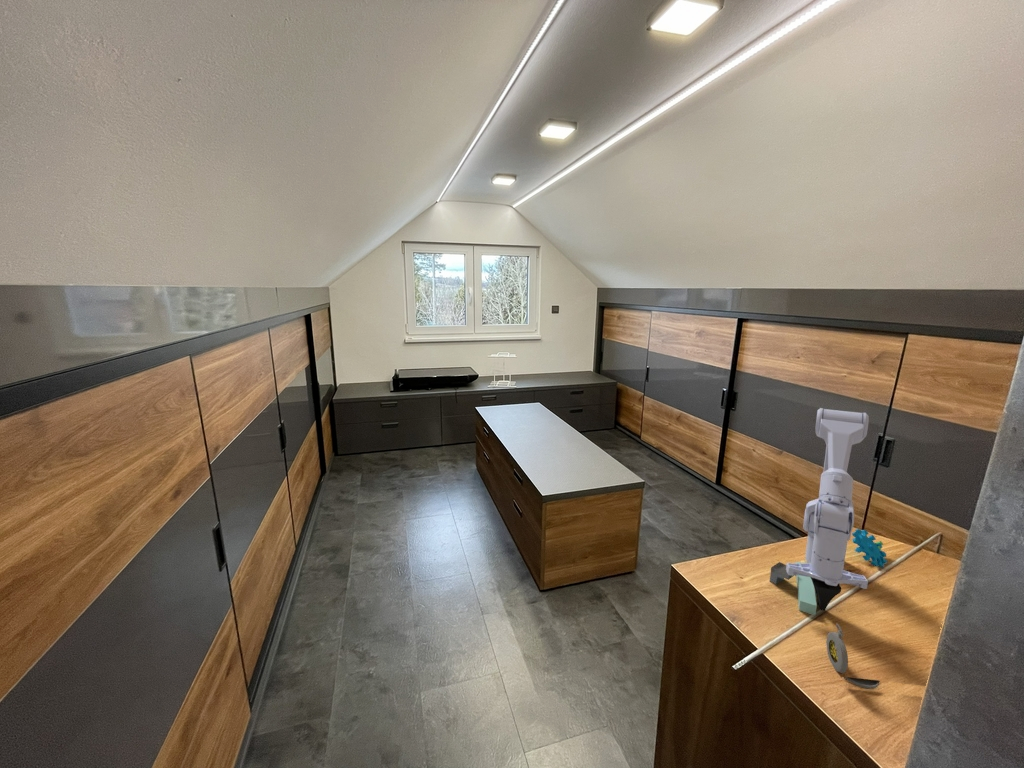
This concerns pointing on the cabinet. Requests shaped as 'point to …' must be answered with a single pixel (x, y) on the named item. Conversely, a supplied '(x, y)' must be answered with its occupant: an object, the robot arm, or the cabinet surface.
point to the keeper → (779, 573)
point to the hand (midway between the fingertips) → (820, 607)
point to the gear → (869, 548)
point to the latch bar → (806, 593)
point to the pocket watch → (844, 659)
